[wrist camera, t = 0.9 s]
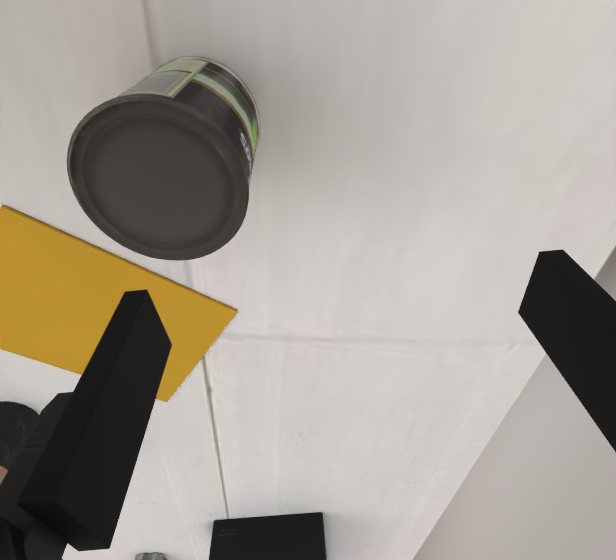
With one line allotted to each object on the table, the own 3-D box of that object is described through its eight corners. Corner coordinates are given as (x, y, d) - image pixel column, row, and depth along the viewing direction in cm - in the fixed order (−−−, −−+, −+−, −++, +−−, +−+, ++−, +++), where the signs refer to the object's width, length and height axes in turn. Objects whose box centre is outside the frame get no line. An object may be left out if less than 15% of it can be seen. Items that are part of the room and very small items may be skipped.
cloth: (-30, 336, 48) (-32, 338, 48) (3, 204, 38) (0, 206, 37) (167, 399, 58) (166, 402, 58) (237, 310, 48) (237, 312, 47)
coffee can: (272, 77, 32) (266, 130, 21) (247, 188, 38) (231, 275, 27) (143, 35, 30) (58, 68, 19) (137, 160, 36) (71, 241, 25)
